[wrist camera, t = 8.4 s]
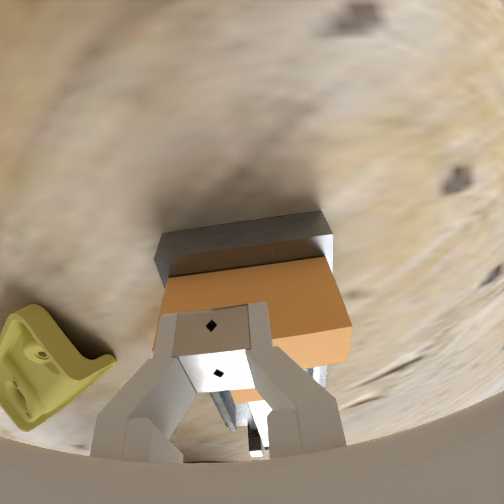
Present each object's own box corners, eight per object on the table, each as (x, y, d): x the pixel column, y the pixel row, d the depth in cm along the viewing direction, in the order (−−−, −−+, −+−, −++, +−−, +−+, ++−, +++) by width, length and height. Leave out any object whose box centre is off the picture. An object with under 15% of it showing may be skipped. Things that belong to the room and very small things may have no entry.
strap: (287, 438, 30) (288, 448, 29) (264, 441, 30) (265, 451, 29) (280, 382, 21) (282, 397, 20) (246, 386, 21) (247, 402, 20)
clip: (324, 321, 23) (342, 387, 18) (191, 338, 24) (185, 406, 19) (325, 256, 20) (352, 326, 15) (167, 277, 20) (152, 351, 15)
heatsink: (318, 393, 35) (329, 449, 29) (226, 405, 36) (227, 461, 29) (321, 210, 22) (355, 281, 15) (162, 233, 22) (138, 310, 16)
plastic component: (14, 302, 22) (83, 394, 22) (64, 279, 29) (125, 355, 30) (-18, 381, 28) (30, 441, 28) (16, 358, 35) (60, 413, 35)
